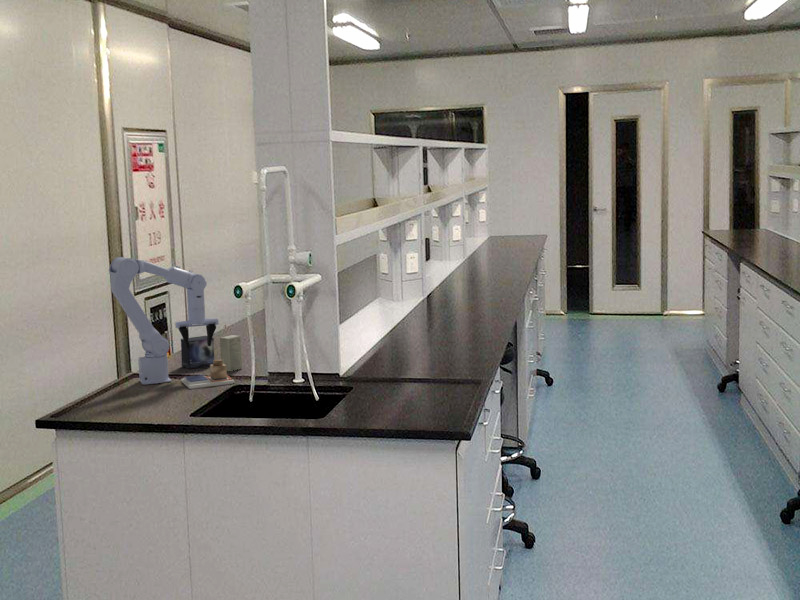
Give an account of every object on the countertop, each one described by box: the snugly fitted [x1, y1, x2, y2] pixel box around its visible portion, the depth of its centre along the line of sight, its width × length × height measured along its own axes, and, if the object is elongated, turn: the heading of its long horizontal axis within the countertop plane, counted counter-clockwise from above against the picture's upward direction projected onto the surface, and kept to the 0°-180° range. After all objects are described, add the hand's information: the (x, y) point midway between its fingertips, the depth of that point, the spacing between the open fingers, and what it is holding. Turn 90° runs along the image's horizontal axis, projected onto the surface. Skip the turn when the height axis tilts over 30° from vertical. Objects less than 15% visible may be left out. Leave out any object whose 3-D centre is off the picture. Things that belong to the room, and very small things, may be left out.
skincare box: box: [219, 334, 243, 372], centre depth 306 cm, size 6×4×12 cm
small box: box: [180, 335, 215, 370], centre depth 314 cm, size 11×6×10 cm, turn 129°
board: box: [181, 374, 236, 390], centre depth 287 cm, size 15×12×2 cm
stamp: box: [209, 358, 228, 380], centre depth 288 cm, size 4×4×6 cm
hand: (198, 346), depth 299 cm, fingers open, 7 cm apart
